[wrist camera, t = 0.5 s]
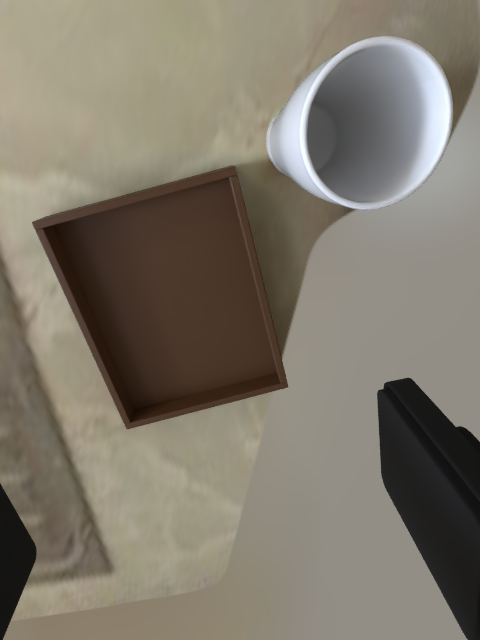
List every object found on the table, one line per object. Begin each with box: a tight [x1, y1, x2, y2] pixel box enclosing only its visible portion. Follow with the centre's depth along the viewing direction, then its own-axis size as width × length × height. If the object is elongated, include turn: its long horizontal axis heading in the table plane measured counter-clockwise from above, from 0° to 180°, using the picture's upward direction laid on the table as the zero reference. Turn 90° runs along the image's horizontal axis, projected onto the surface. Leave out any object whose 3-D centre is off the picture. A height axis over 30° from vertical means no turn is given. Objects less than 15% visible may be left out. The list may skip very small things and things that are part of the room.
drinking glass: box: [266, 36, 453, 210], centre depth 23 cm, size 7×7×15 cm
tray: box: [32, 166, 288, 429], centre depth 33 cm, size 19×15×3 cm
